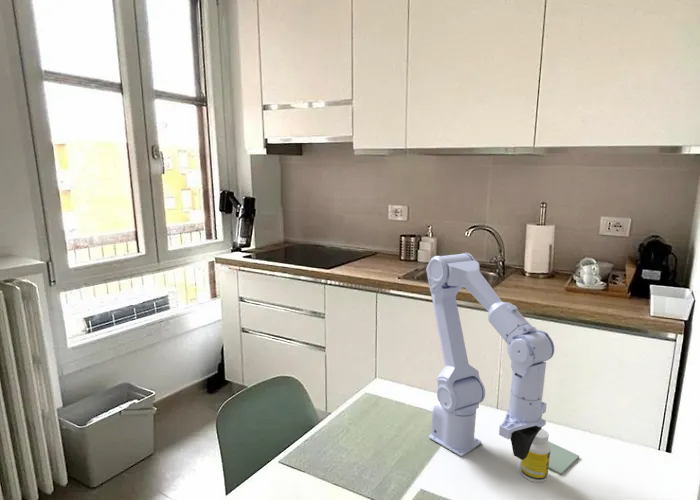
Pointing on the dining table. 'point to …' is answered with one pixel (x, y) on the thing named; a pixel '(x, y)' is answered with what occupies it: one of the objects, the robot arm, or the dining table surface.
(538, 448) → the supplement bottle
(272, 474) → the dining table surface
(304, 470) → the dining table surface
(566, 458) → the mat
